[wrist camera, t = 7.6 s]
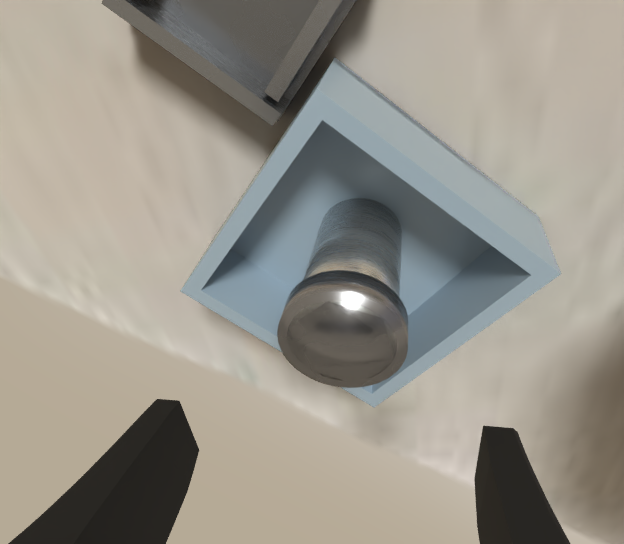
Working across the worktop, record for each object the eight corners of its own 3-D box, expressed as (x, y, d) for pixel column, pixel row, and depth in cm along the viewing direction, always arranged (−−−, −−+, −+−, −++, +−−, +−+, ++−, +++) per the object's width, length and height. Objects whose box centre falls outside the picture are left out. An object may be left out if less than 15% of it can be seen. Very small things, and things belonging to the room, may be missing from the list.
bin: (538, 217, 18) (561, 273, 15) (379, 347, 23) (374, 407, 20) (334, 57, 16) (316, 88, 13) (212, 241, 21) (180, 291, 18)
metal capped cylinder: (431, 224, 18) (436, 335, 13) (374, 288, 20) (361, 404, 15) (344, 171, 17) (316, 268, 13) (295, 244, 20) (256, 350, 15)
